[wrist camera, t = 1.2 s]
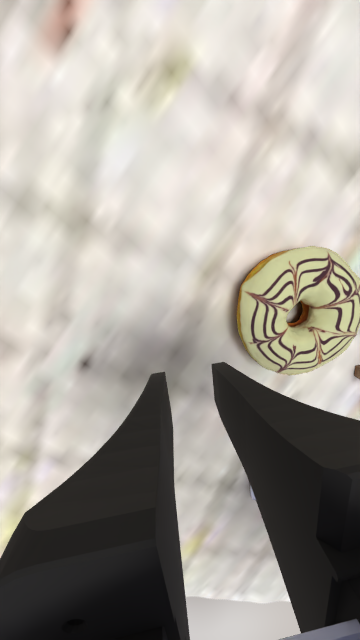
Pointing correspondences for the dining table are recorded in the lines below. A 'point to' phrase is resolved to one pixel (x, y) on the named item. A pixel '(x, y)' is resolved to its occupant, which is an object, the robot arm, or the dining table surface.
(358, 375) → the walnut frame
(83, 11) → the dining table surface
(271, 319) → the decorated donut
